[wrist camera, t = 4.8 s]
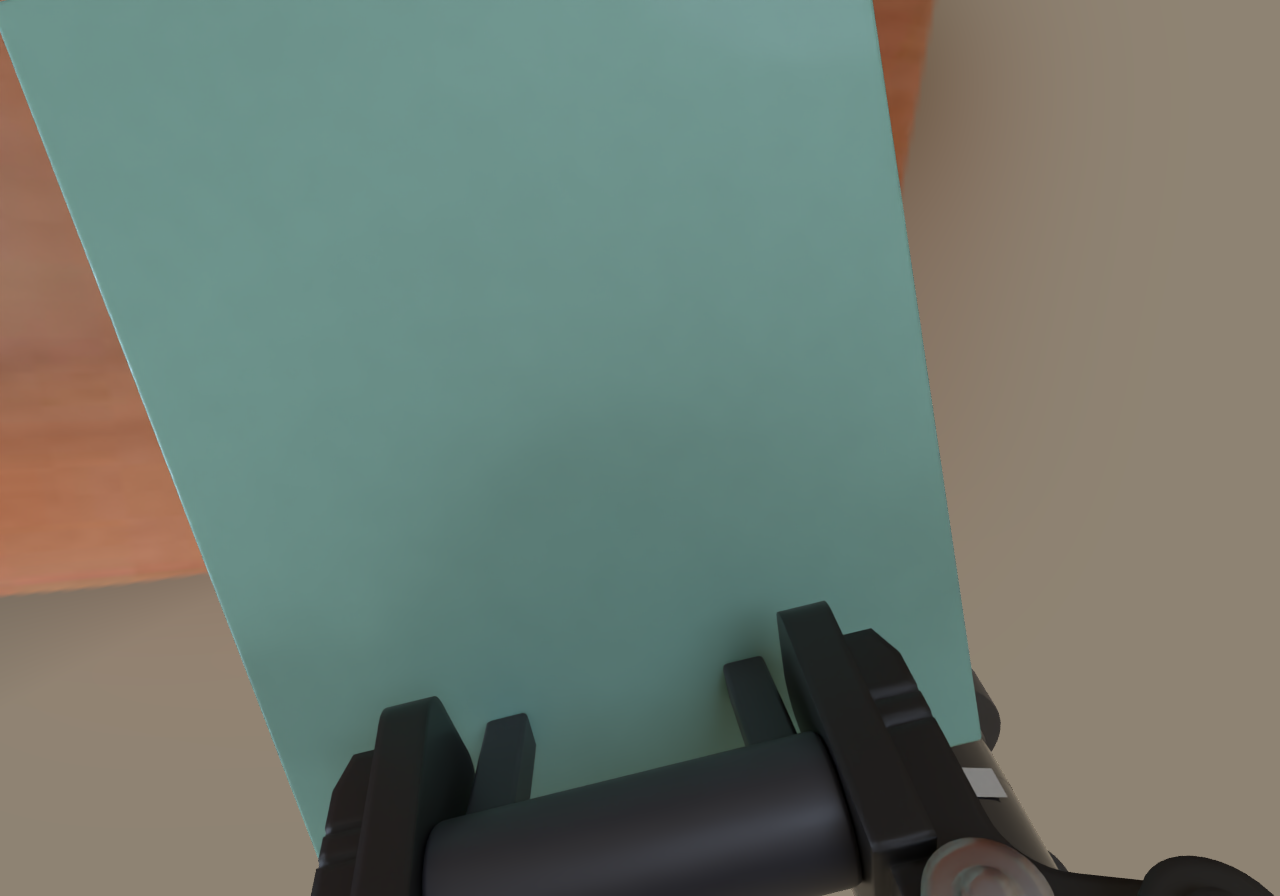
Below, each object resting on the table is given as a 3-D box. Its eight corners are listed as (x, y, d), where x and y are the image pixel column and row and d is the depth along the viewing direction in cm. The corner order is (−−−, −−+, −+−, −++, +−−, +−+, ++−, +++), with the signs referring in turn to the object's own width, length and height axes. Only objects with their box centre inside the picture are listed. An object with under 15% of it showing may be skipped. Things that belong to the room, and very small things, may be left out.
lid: (962, 715, 14) (1160, 950, 9) (346, 866, 14) (214, 1185, 9) (827, -167, 11) (1020, -525, 6) (28, 21, 11) (-436, -188, 6)
